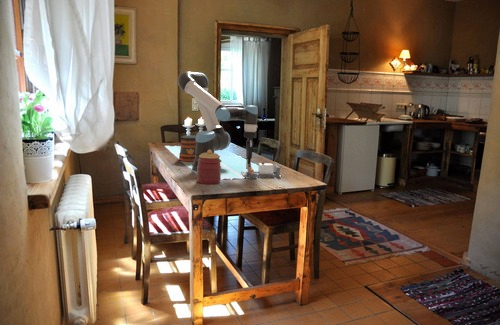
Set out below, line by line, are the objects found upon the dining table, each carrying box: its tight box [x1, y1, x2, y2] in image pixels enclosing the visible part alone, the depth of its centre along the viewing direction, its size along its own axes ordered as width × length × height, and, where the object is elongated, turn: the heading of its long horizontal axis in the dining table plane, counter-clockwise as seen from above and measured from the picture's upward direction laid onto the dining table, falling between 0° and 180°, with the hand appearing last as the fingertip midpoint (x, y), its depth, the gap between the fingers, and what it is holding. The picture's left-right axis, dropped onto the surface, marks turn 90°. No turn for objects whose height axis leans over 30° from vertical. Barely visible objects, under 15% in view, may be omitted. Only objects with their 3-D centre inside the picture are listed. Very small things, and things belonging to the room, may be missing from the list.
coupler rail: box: [240, 164, 281, 180], centre depth 230 cm, size 22×16×6 cm
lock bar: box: [247, 163, 255, 173], centre depth 232 cm, size 2×12×4 cm, turn 9°
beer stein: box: [178, 134, 196, 163], centre depth 267 cm, size 19×15×20 cm
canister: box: [196, 150, 222, 185], centre depth 208 cm, size 13×13×18 cm
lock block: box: [257, 162, 274, 175], centre depth 233 cm, size 8×6×7 cm
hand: (248, 168), depth 240 cm, fingers closed
